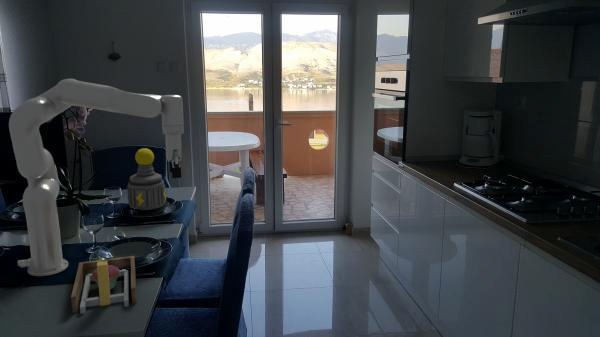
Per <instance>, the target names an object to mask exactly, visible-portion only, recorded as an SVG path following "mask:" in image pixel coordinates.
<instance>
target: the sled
mask: <svg viewBox="0 0 600 337" xmlns="http://www.w3.org/2000/svg"><path fill="white" fill-rule="evenodd" d="M119 271H120V276H119V277H121V276H124V277H123V279H124V280H123V283H124V284H123V286H124V287H123V292H122V293H117V294H116V293H115V294H111V289H110V284H109V272H108V261H103V262H97V273H98V284H99V287H98V293H99V296H95V297H89V292H90V287H91V282H94V281H93V279H92V273H91V274H88V275H86V277H85V278H84V283H83V288H82V293H81V294H82V295H81V298H80V300H81V301H80V303H79V310H80V311H79V312H80V314H85V313H86V310H87V308H89V307H96V306H101V307H103V306H108V305H111V304H116V303H122V302H123V305H124V307H125V308H126V307H129V305H130V304H129V303H130V300H129V299H130V296H129V295H130V294H129V293H130V291H129V290H130V289H129V288H130V286H129V282H130V280H129V277H130V276H129V271H128V270H126V269H122V270H119ZM121 278H122V277H121ZM98 284H97V285H98Z"/></svg>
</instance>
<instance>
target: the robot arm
mask: <svg viewBox="0 0 600 337" xmlns="http://www.w3.org/2000/svg"><path fill="white" fill-rule="evenodd" d="M72 106H73V107H81V108H86V109H87V108H89V109H95V110H100V111H105V112H106V111H107V112H111V113H119V114H124V115H129V116H133V117H141V118H142V117H143V118H149V119H151V118H156V117H157V116H159V115H160V114H161V125H162V126H161V127H162V128H161V129H162V134H163V135H165V158H166V160H167V162H168V163H169V164H168V165H169V173H171V178H172V179H181V178H182V167H181V161H182V135H183V134H185V125H184V124H185V123H184V103H183V97H182V96H181V95H178V94H165V95H159V94H150V93H148V94H143V93H142V94H141V93H134V92H129V91H125V90H121V89H119V88H116V87H113V86H110V85H104V84H99V83H93V82H86V81H82V80H77V79H75V78H65V79H61V80H60V81H59V82H57V83H56V85H54V86H52V87H50V89H48V90H46V91H45V92H42V93H41V94H39V95H38V96H36V97H33V98H29V99H28V100H26V101H24V102H23V103H21V104H19V105H18V106H17V107H16V108H15V109H14V110H13V111H12V113H11V114H10V117H9V121H8V129H9V134H10V139H11V142H12V149H13V154H14V157H15V160H16V161H15V162H16V167H17V169H18V172H19V174H20V175H21V176H22V177H23V178H25V179H26V180H27V184H28V186H27V187H26V188H25V189H24V192H23V195H22V205H23V210H24V213H25V218H26V227H27V233H28V241H29V249H30V250H29V251H30V258H28V259H19V260H17V266H18V267H20V268H27V267H28V268H27V274H28V275H30V276H35V277H45V276H46V277H47V276H52V275H56V274H58V273H60V272H63V271H65V270H66V269H67V268H68V267H69V261H68V260H66V259H65V258H63V249H62V241H61V240H62V238H61V230H60V223H59V222H60V221H59V214H58V213H59V212H58V206H57V198H58V196H59V193H60V183H59V179H58V174H57V170H56V167H55V162H54V157H53V156H52V154H51V152H50V151H49V150H47V149H46V148H44V145H43V139H42V136H41V133H40V126H41V125H42V124H44V123H47V122H49V121H50V120H51V119H54V118H55V117H57V116H58V115H59V114H61V113H63V112H65V111H66V110H68V109H69V108H71V107H72Z"/></svg>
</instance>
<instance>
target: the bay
mask: <svg viewBox="0 0 600 337" xmlns="http://www.w3.org/2000/svg"><path fill="white" fill-rule="evenodd" d="M101 261H102V262H103V261H108V265H113V266H116V267H118V268H124V267H131V271H130V290H131V291H130V292H131V293H130V294H131V303H132V304H133V305H134V304H137V282H136V281H137V279H136V262H135V255H130V256H123V257H114V258H107V259H101ZM97 262H99V259H95V260H91V261H90V260H89V261H82V262H81V261H80V262H78V268H77V271H76V275H75V279H74V283H73V288H72V291H71V295H70V299H71V300H70V301H71V309H72V313H73V314H74V313H78V310H79V307H80V302H81V301H80V300H81V297H82V295H81V294H82V292H83V287H84V282H85V278H86V275H88V274H91V273H93V272H94V271H95V269H97Z"/></svg>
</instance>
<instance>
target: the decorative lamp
mask: <svg viewBox="0 0 600 337" xmlns="http://www.w3.org/2000/svg"><path fill="white" fill-rule="evenodd" d="M134 158H135V159H134V160H135V161H136V163H137V164H138V166H137V172H136V173H135V174H133V175H131V176H130V177H129V182H127V186H126V187H127V204H128V205H129V207H130V209H132V208H135V209H141V210H140V211H151V210H156V209H159V208H162V207H164V206H165V204H166V202H167V194H166V193H167V192H166V184H165V181H164V179H163V176H162V174H159V173H157V172H155V170H154V167H153V162H154V160H155V155H154V153H153V151H152V150H151V149H149V148H144V147H143V148H140V149H138V150H137V152H136V153H135V156H134ZM135 209H134V210H135Z"/></svg>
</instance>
